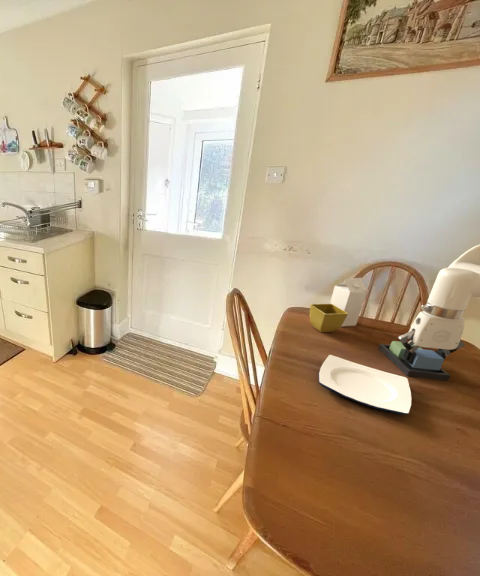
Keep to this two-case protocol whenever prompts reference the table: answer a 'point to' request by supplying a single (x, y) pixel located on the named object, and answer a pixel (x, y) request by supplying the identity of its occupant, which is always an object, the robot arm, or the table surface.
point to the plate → (366, 385)
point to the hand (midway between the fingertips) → (421, 362)
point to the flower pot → (326, 317)
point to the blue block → (427, 360)
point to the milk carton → (349, 299)
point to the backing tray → (411, 371)
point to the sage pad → (398, 349)
